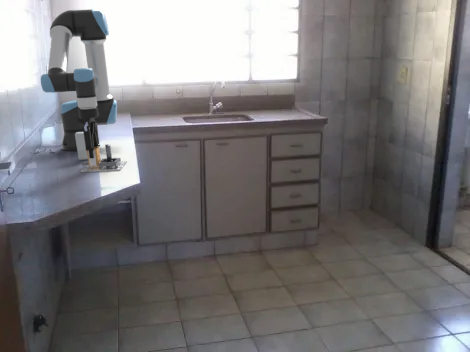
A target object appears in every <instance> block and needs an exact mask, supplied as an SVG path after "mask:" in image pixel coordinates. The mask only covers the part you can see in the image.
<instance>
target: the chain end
mask: <svg viewBox="0 0 470 352" xmlns="http://www.w3.org/2000/svg"><path fill="white" fill-rule="evenodd" d="M94 150H95V154H96V162H97V166H99V167H103V166H117V165H118V164H119V163H120V162H121V157H112V162H107V157H106V158H105V157H103V158H101V151H100V147H94ZM87 155H88V151H87ZM87 165H89V166H90V163H89V155H88V159H87V161H82V162H81V166H84V167H85V166H87Z"/></svg>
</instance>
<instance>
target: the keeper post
mask: <svg viewBox="0 0 470 352" xmlns="http://www.w3.org/2000/svg"><path fill="white" fill-rule="evenodd" d="M104 145H105V147H104V148H105V154H106V158H107V162H112V158H113V156H112V150H111V149H112V148H111V144H108V143H107V144H104ZM127 163H128V162H127V161H125V160H124V161H121V162H120V163H119V164H118V165H117V166H103V167H99V166H89V165H87V166H84V167H83V168H81V170H80V173H92V172H93V173H94V172H95V173H96V172H115V171H116V172H117V171H118V172H119V170H120V171H121V170H122V169H123V168H124V166H125V165H126V164H127Z"/></svg>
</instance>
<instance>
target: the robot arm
mask: <svg viewBox="0 0 470 352" xmlns="http://www.w3.org/2000/svg"><path fill="white" fill-rule="evenodd" d="M109 35H110V31H109V26H108V22H107V18H106V15H105V13H104V11H103V10H101V9H98V8H97V9H93V8H91V9H75V10H74V9H71V10H70V9H69V10H65V11H63V12H61V13H60V14H59V15H58V16H56V18H55V19H54V20H53V21H52V23H51V25H50V28H49V37H50V38H51V42H50V50H49V59H48V69H47V73H45V74H41V76H40V86H41V89H42V91H43V92H44V93H54V94H55V93H64V92H75V93H76V99H74V100H70V101H66V102H63V103H62V104H61V105H60V114H61V115H60V116H61V122H62V128H63V137H62V144H61V148H62V150H63V151H66V152H67V151H69V152H74V151H77V145H76V139H75V133H76V132H84V140H85V147H86V149H85V150H86V151H88V155H89V163H90V166H97V162H96V154H95V150H94V147H99V148H100V147H101V144H100V138H99V137H100V136H99V129H98V126H105V125H106V126H108V125H114V124H116V122H117V118H118V101H117V100H115V99H114V95H112V94H110V86H109V85H110V84H109V77H108V70H107V62H106V53H105V46H104V44H105V42H106V40H107V36H109ZM74 37H80V42H82V43H83V44H84V50H85V58H86V64H87V67H83V68H82V67H80V68H75V69H73V72H68V64H69V50H70V42H71V40H72V38H74Z"/></svg>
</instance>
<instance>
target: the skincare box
mask: <svg viewBox="0 0 470 352" xmlns="http://www.w3.org/2000/svg"><path fill="white" fill-rule="evenodd" d="M75 139H76V145H77V150H76V151H77V157H78V160H79V161H82V160H88V155H87V151H86V150H85V149H86V147H85V140H84V132H76V133H75Z"/></svg>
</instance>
